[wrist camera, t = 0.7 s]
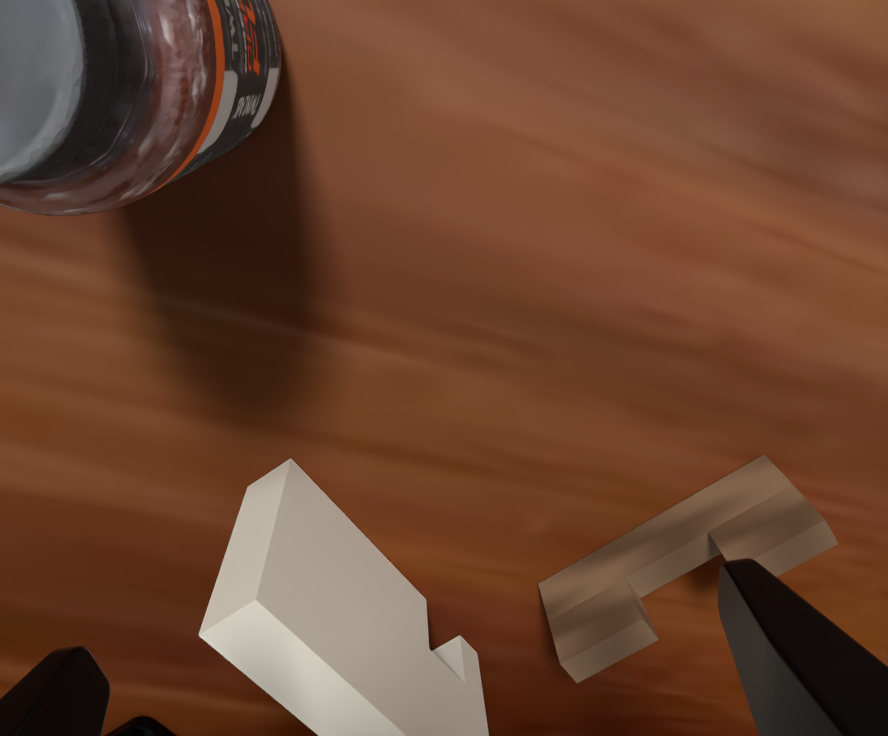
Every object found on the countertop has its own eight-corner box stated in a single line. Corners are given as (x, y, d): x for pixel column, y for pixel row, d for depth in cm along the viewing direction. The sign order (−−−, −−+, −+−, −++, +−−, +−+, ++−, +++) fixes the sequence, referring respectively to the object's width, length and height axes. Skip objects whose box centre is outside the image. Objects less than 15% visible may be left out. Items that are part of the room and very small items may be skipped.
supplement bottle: (331, 62, 19) (263, 76, 9) (183, 200, 21) (-21, 346, 10) (166, -142, 17) (-164, -422, 7) (13, 26, 19) (-457, -4, 8)
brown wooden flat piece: (553, 602, 28) (577, 683, 25) (537, 583, 28) (559, 663, 24) (776, 475, 26) (838, 543, 23) (764, 454, 26) (824, 520, 22)
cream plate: (477, 653, 29) (500, 820, 23) (438, 675, 30) (451, 846, 23) (290, 457, 25) (255, 599, 18) (247, 486, 25) (198, 635, 19)
